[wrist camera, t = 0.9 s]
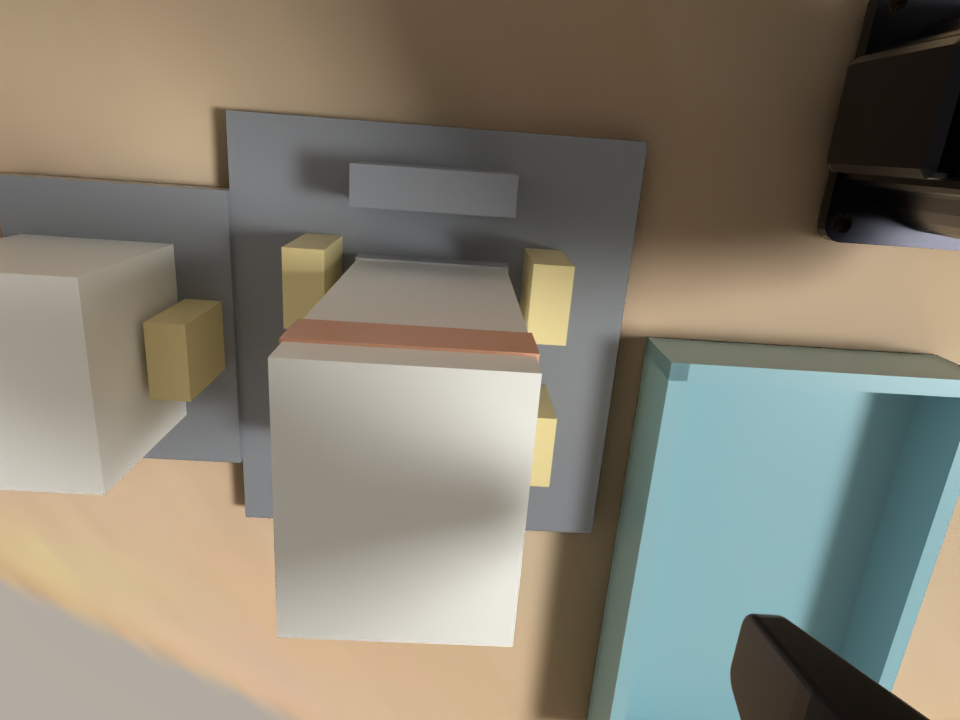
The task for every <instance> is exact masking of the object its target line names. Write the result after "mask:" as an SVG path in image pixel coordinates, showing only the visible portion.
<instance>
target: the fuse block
mask: <svg viewBox="0 0 960 720" xmlns="http://www.w3.org/2000/svg"><path fill="white" fill-rule="evenodd" d="M226 129H227V149H228V169H229V188H220V187H206V186H191V185H177V184H163V183H149V182H134V181H120V180H106V179H92V178H78V177H63V176H49V175H35V174H21V173H4V174H0V226H1V232H2V238H0V490H12V491H33V492H53V493H74V494H94V495H105V494H106V493H107V492H108V491H109V490H110V489H111V488H112V487H114V486H115V485H116V484H117V483H118V482H119V481H120V480H121V479H122V478H123V477H124V476H125V475H126V474H127V473H128V472H129V471H130V470H131V469H132V468H133V467H134V466H135V465H136V464H137V463H138V462H139V461H140V460H141V459H142V458H155V459H174V460H194V461H213V462H233V463H241V462H242V460H243V472H244V493H245V513H246V517H259V518H273V493H272V464H271V434H270V405H269V376H268V357H269V356H270V355H271V353H272V352H273V351H274V350H275V349H276V348H277V347H278V346H279V338H280V337H281V336H282V335H283V334H284V332H285V331H286V330H287V329H288V328H289V327H290V326H291V325H292V324H293V323H294V322H295V321H296V320H297V319H298V318H299V319H303V318H304V317H305V316H306V315H307V314H308V313H309V312H310V311H311V309H312V308H313V307H314V306H315V305H316V304H317V303H318V302H319V301H320V300H321V298H322V297H323V296H324V295H325V294H326V293H327V292H328V291H329V290H330V289H331V287H332V286H333V285H334V284H335V283H336V282H337V281H338V280H339V279H340V278H341V276H342V275H343V274H344V273H345V272H346V271H347V270H348V269H349V268H350V267H351V265H352V264H353V263H354V262H355V257H356V256H357V255H358V254H359V253H363V254H378V255H394V256H409V257H424V258H439V259H454V260H469V261H484V262H499V263H507V264H508V267H509V270H508V275H509V278H510V281H511V284H512V286H513V289H514V292H515V295H516V298H517V301H518V304H519V307H520V310H521V313H522V316H523V319H524V322H525V325H526V328H527V331H528V333H532V334H533V337H534V339H535V342H536V345H537V348H538V350H539V353H540V356H539V366H540V369H541V372H542V379H541V388H540V397H539V407H538V416H537V425H536V435H535V444H534V453H533V463H532V472H531V481H530V491H529V500H528V509H527V519H526V528H525V530H530V531H551V532H572V533H591V532H592V525H593V518H594V511H595V504H596V498H597V491H598V484H599V477H600V470H601V463H602V456H603V449H604V442H605V435H606V428H607V421H608V415H609V408H610V401H611V394H612V387H613V380H614V373H615V366H616V359H617V352H618V345H619V338H620V331H621V325H622V318H623V311H624V304H625V297H626V290H627V283H628V276H629V269H630V262H631V255H632V248H633V242H634V235H635V228H636V221H637V214H638V207H639V200H640V193H641V186H642V179H643V172H644V165H645V159H646V152H647V145H648V142H641V141H628V140H615V139H601V138H588V137H575V136H562V135H548V134H535V133H522V132H509V131H495V130H482V129H469V128H456V127H443V126H429V125H416V124H403V123H390V122H376V121H363V120H350V119H337V118H324V117H310V116H297V115H284V114H271V113H257V112H244V111H231V110H226Z"/></svg>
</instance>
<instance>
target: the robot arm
mask: <svg viewBox="0 0 960 720" xmlns="http://www.w3.org/2000/svg"><path fill="white" fill-rule="evenodd" d="M827 164H828V166H829V167H830V171H829V175H828V180H827V184H826V188H825V193H824V197H823V201H822V206H821V210H820V214H819V219H818V230H819V233H820V234H821V235H822V236H823V237H824V238H825V239H829V240H832V241H836V242H844V243H858V244H873V245H887V246H901V247H916V248H930V249H944V250H959V251H960V0H897V7H896V9H895V11H894V12H891V11H889V9H888V7H887V0H869V3H868V7H867V11H866V16H865V20H864V24H863V28H862V33H861V37H860V41H859V46H858V50H857V54H856V59H855V61H854V62H853V63H852V64H850V65H849V67H848V69H847V74H846V78H845V83H844V87H843V91H842V96H841V100H840V104H839V109H838V113H837V117H836V122H835V126H834V131H833V135H832V139H831V144H830V148H829V152H828V157H827ZM840 215H842V216H843V217H844V224H843V226H842V228H841V229H839V230H838V231H835V229H834V222H835V220H836V218H838V217H839V216H840ZM730 681H731V687H732V691H733V695H734V698H735V702H736V705H737V709H738V712H739V716H740V719H741V720H930V719H928V718H927V717H925V716H924V715H922V714H921V713H920V712H918V711H917V710H915V709H914V708H913V707H911V706H910V705H908V704H907V703H906V702H904V701H903V700H901V699H900V698H898V697H897V696H896V695H894V694H893V693H891V692H890V691H889V690H887V689H886V688H884V687H883V686H881V685H880V684H879V683H877V682H876V681H874V680H873V679H872V678H870V677H869V676H867V675H866V674H864V673H863V672H862V671H860V670H859V669H857V668H856V667H855V666H853V665H852V664H850V663H849V662H847V661H846V660H845V659H843V658H842V657H840V656H839V655H838V654H836V653H835V652H833V651H832V650H831V649H829V648H828V647H826V646H825V645H823V644H822V643H821V642H819V641H818V640H816V639H815V638H814V637H812V636H811V635H809V634H808V633H806V632H805V631H804V630H802V629H801V628H799V627H798V626H797V625H795V624H794V623H792V622H791V621H789V620H788V619H787V618H785V617H783V616H781V615H774V614H756V613H752V614H749V615H747V616H746V617H745V618H744V620H743V622H742V624H741V628H740V632H739V636H738V640H737V644H736V648H735V652H734V655H733V659H732V663H731V668H730Z"/></svg>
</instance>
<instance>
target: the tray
mask: <svg viewBox="0 0 960 720" xmlns="http://www.w3.org/2000/svg"><path fill="white" fill-rule="evenodd" d="M959 493H960V365H958V364H956V363H953V362H951V361H949V360H947V359H944V358H942V357H940V356H938V355H929V354H913V353H896V352H880V351H864V350H848V349H832V348H816V347H799V346H783V345H767V344H751V343H735V342H719V341H703V340H686V339H670V338H654V337H647V343H646V350H645V356H644V362H643V369H642V375H641V381H640V387H639V394H638V400H637V406H636V413H635V419H634V425H633V432H632V438H631V444H630V450H629V457H628V463H627V469H626V476H625V482H624V488H623V495H622V501H621V507H620V514H619V520H618V526H617V532H616V539H615V545H614V551H613V558H612V564H611V570H610V577H609V583H608V589H607V595H606V602H605V608H604V614H603V621H602V627H601V633H600V640H599V646H598V652H597V659H596V665H595V671H594V677H593V684H592V690H591V696H590V703H589V709H588V715H587V720H741V719H740V716H739V712H738V709H737V705H736V702H735V698H734V695H733V691H732V687H731V681H730V668H731V663H732V659H733V655H734V652H735V648H736V644H737V640H738V636H739V632H740V628H741V624H742V622H743V620H744V618H745V617H746V616H747V615H749V614H752V613H756V614H774V615H781V616H783V617H785V618H787V619H788V620H789V621H791V622H792V623H794V624H795V625H797V626H798V627H799V628H801V629H802V630H804V631H805V632H806V633H808V634H809V635H811V636H812V637H814V638H815V639H816V640H818V641H819V642H821V643H822V644H823V645H825V646H826V647H828V648H829V649H831V650H832V651H833V652H835V653H836V654H838V655H839V656H840V657H842V658H843V659H845V660H846V661H847V662H849V663H850V664H852V665H853V666H855V667H856V668H857V669H859V670H860V671H862V672H863V673H864V674H866V675H867V676H869V677H870V678H872V679H873V680H874V681H876V682H877V683H879V684H880V685H881V686H883V687H884V688H886V689H887V690H889V691H890V692H891V691H892V688H893V685H894V682H895V679H896V676H897V674H898V671H899V668H900V665H901V662H902V659H903V656H904V653H905V650H906V647H907V644H908V642H909V639H910V636H911V633H912V630H913V627H914V624H915V621H916V618H917V615H918V613H919V610H920V607H921V604H922V601H923V598H924V595H925V592H926V589H927V586H928V583H929V581H930V578H931V575H932V572H933V569H934V566H935V563H936V560H937V557H938V554H939V551H940V549H941V546H942V543H943V540H944V537H945V534H946V531H947V528H948V525H949V522H950V519H951V517H952V514H953V511H954V508H955V505H956V502H957V499H958V496H959Z"/></svg>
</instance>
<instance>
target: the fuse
mask: <svg viewBox="0 0 960 720" xmlns="http://www.w3.org/2000/svg"><path fill="white" fill-rule="evenodd" d="M508 270H509V267H508V264H507V263H499V262H484V261H469V260H454V259H439V258H424V257H409V256H394V255H378V254H363V253H359V254H358V255H357V256H356V257H355V262H354V263H353V264H352V265H351V267H350V268H349V269H348V270H347V271H346V272H345V273H344V274H343V275H342V276H341V278H340V279H339V280H338V281H337V282H336V283H335V284H334V285H333V286H332V287H331V289H330V290H329V291H328V292H327V293H326V294H325V295H324V296H323V297H322V298H321V300H320V301H319V302H318V303H317V304H316V305H315V306H314V307H313V308H312V309H311V311H310V312H309V313H308V314H307V315H306V316H305V317H304V318H303V319H299V318H298V319H297V320H296V321H295V322H294V323H293V324H292V325H291V326H290V327H289V328H288V329H287V330H286V331H285V332H284V334H283V335H282V336H281V337H280V338H279V346H278V347H277V348H276V349H275V350H274V351H273V352H272V353H271V355H270V356H269V357H268V376H269V405H270V434H271V464H272V493H273V522H274V552H275V581H276V610H277V638H300V639H325V640H351V641H376V642H401V643H426V644H451V645H477V646H502V647H513V640H514V630H515V621H516V612H517V603H518V593H519V584H520V575H521V565H522V556H523V547H524V537H525V528H526V519H527V509H528V500H529V491H530V481H531V472H532V463H533V453H534V444H535V435H536V425H537V416H538V407H539V397H540V388H541V379H542V372H541V369H540V366H539V356H540V353H539V350H538V348H537V345H536V342H535V339H534V337H533V334H532V333H528V331H527V328H526V325H525V322H524V319H523V316H522V313H521V310H520V307H519V304H518V301H517V298H516V295H515V292H514V289H513V286H512V284H511V281H510V278H509V275H508Z"/></svg>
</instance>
